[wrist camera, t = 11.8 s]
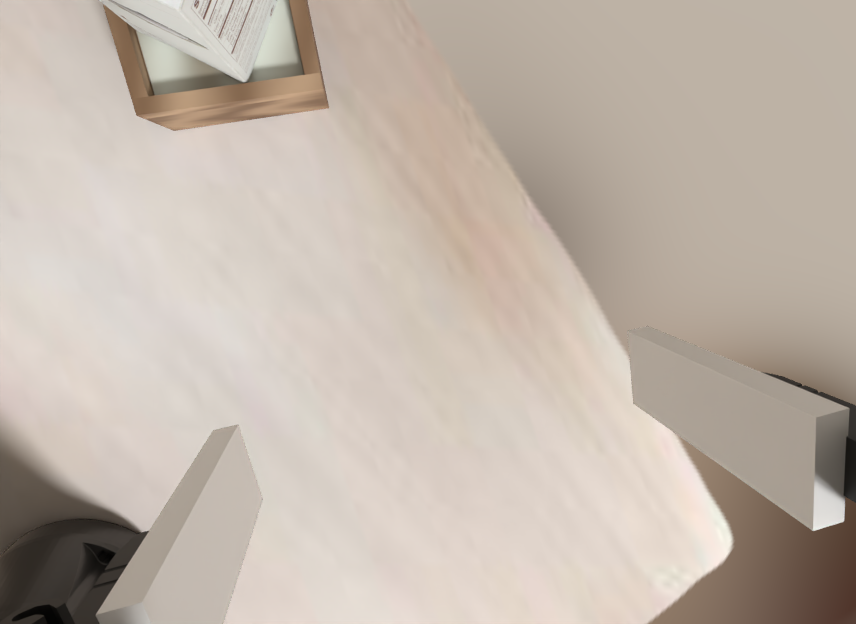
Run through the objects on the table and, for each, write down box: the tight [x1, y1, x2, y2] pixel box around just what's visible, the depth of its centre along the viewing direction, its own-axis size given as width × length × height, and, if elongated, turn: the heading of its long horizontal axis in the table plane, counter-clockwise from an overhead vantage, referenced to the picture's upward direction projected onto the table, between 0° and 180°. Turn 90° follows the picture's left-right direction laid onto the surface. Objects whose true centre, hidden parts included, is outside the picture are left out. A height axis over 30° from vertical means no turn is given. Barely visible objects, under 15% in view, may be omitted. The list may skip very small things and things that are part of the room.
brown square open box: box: [103, 0, 329, 131], centre depth 31 cm, size 12×12×6 cm
